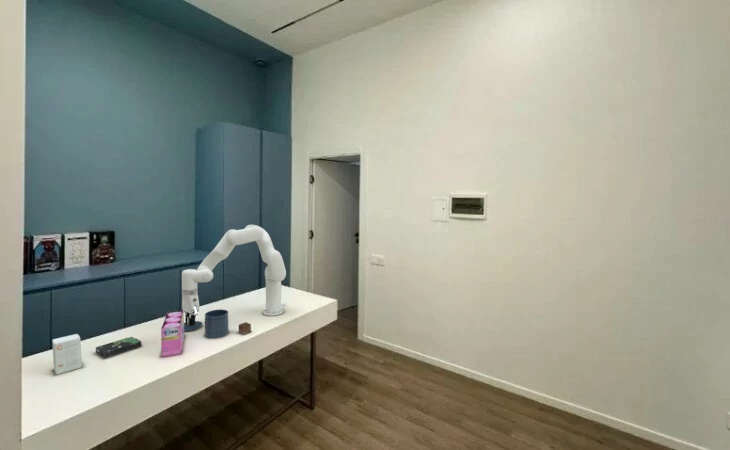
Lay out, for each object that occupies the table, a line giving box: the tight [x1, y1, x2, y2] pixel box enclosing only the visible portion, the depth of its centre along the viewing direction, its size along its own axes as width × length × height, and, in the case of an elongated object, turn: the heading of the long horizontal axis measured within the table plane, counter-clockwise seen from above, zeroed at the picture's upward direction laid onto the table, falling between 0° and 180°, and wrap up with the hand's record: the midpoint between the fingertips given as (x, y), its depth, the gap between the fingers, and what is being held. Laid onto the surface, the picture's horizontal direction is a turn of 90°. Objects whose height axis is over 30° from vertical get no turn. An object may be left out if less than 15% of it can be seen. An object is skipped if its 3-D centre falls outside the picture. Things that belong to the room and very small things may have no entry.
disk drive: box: [95, 336, 142, 359], centre depth 151 cm, size 10×3×15 cm
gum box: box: [160, 310, 185, 358], centre depth 156 cm, size 24×8×14 cm, turn 26°
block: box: [238, 321, 252, 336], centre depth 173 cm, size 4×4×4 cm
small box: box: [51, 333, 83, 375], centre depth 133 cm, size 8×6×13 cm
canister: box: [204, 308, 229, 339], centre depth 170 cm, size 11×11×12 cm
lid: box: [184, 316, 204, 332], centre depth 178 cm, size 12×12×6 cm
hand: (190, 323), depth 178 cm, fingers closed on lid, 3 cm apart
